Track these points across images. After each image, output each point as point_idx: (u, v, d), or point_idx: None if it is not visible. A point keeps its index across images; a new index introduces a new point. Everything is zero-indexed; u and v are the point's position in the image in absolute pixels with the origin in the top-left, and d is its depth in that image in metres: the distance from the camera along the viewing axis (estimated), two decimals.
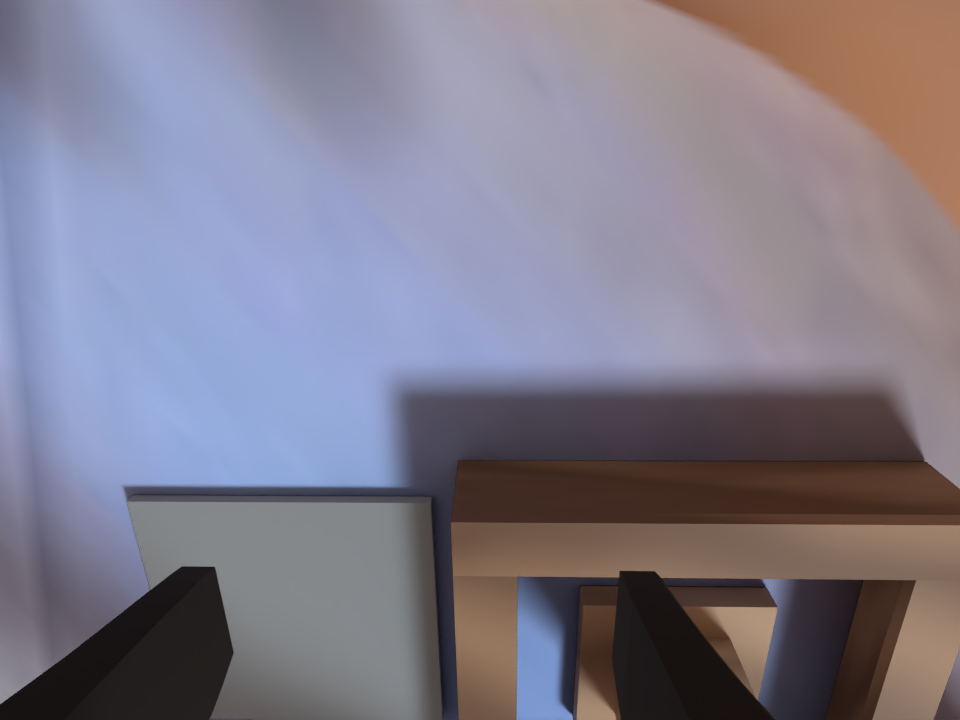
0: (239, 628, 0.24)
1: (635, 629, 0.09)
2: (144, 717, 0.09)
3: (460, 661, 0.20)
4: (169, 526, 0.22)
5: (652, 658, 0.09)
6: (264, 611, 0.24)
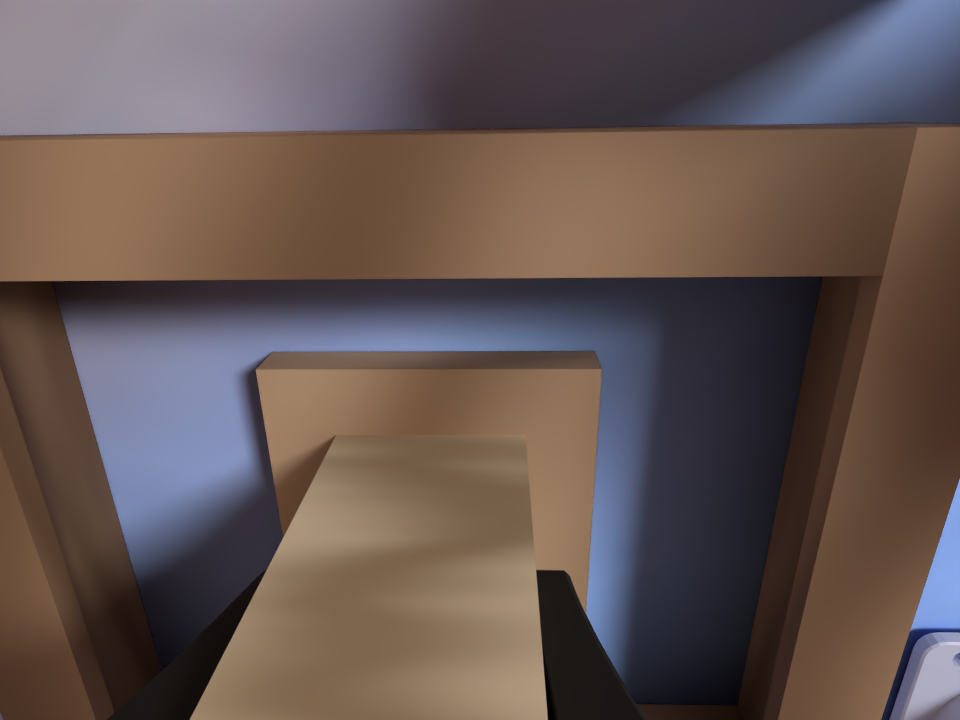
0: None
1: None
2: None
3: None
4: None
5: None
6: None
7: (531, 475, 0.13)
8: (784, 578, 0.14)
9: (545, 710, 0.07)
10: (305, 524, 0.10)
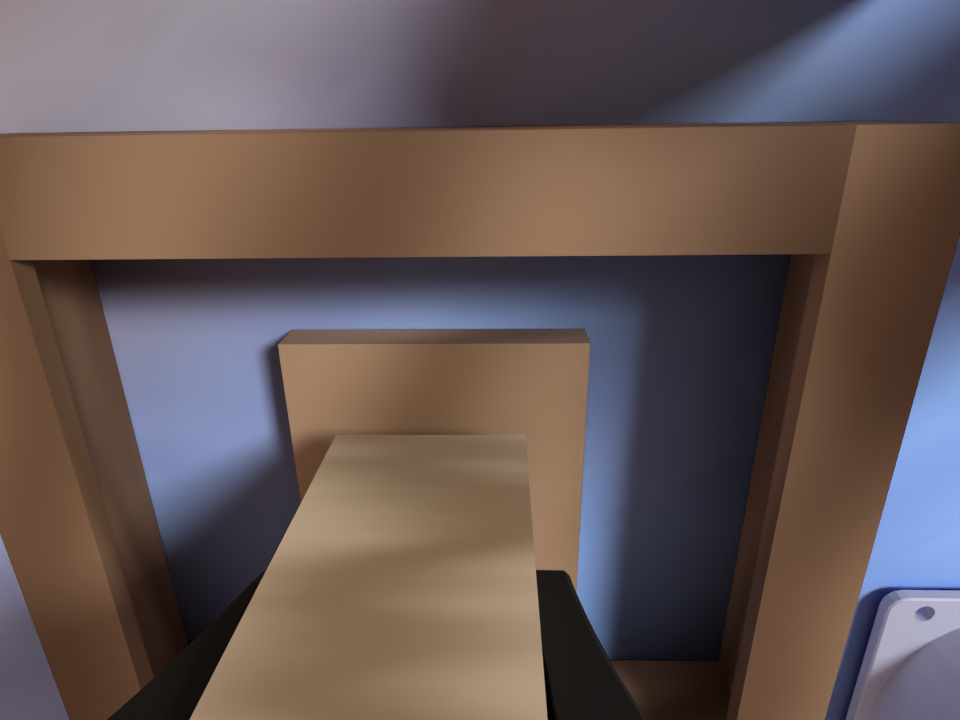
0: None
1: None
2: None
3: None
4: None
5: None
6: None
7: (527, 441, 0.14)
8: (758, 537, 0.15)
9: (544, 709, 0.07)
10: (305, 524, 0.10)
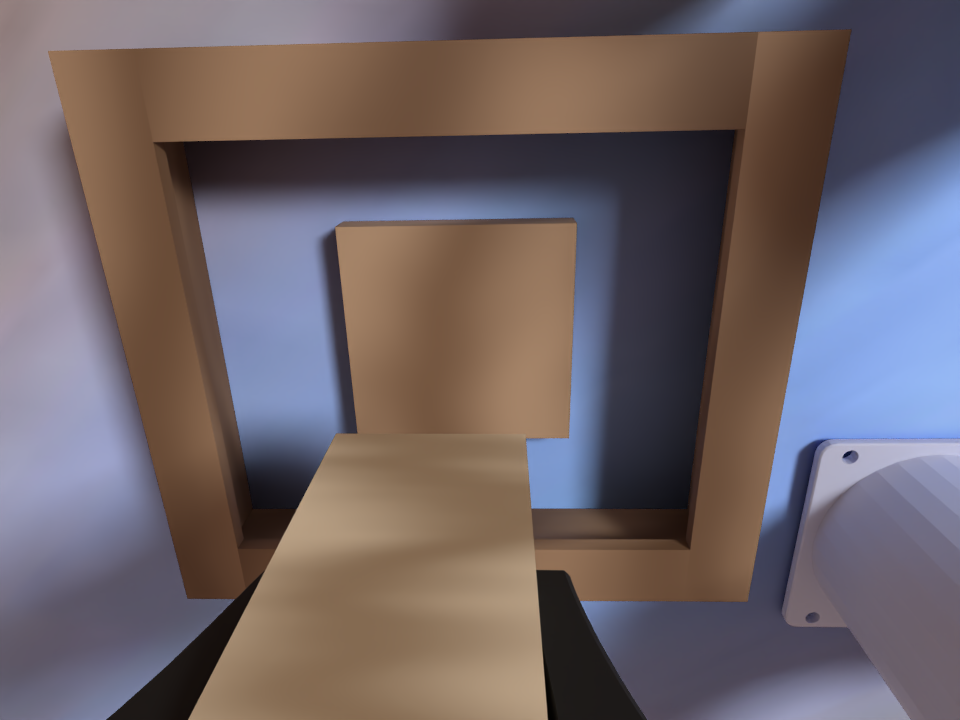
0: None
1: None
2: None
3: None
4: None
5: None
6: None
7: (528, 306, 0.18)
8: None
9: (545, 708, 0.07)
10: (305, 523, 0.10)
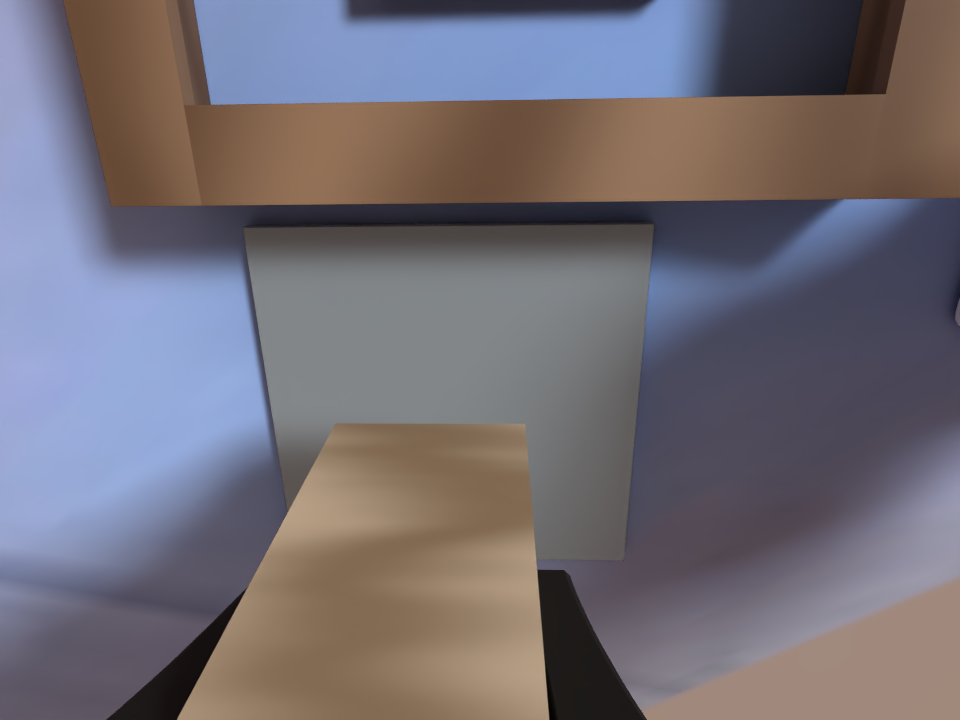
0: None
1: None
2: None
3: (364, 197, 0.13)
4: None
5: None
6: None
7: None
8: None
9: (545, 690, 0.07)
10: (304, 510, 0.10)
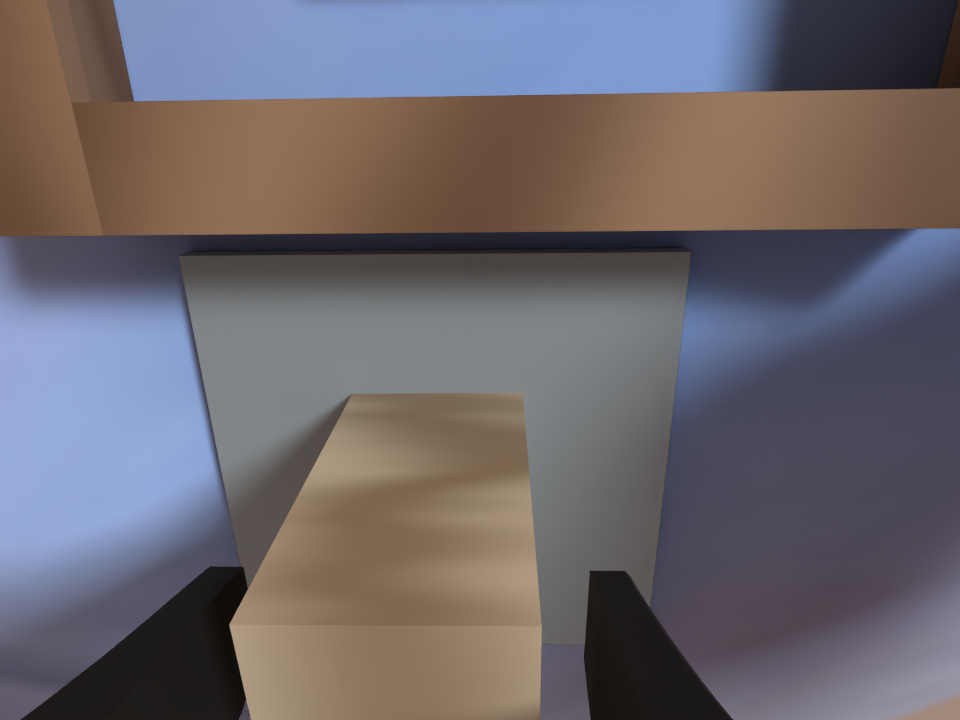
0: None
1: (601, 629, 0.09)
2: (179, 718, 0.09)
3: (318, 225, 0.10)
4: None
5: (616, 658, 0.09)
6: None
7: None
8: None
9: (537, 590, 0.08)
10: (328, 462, 0.12)
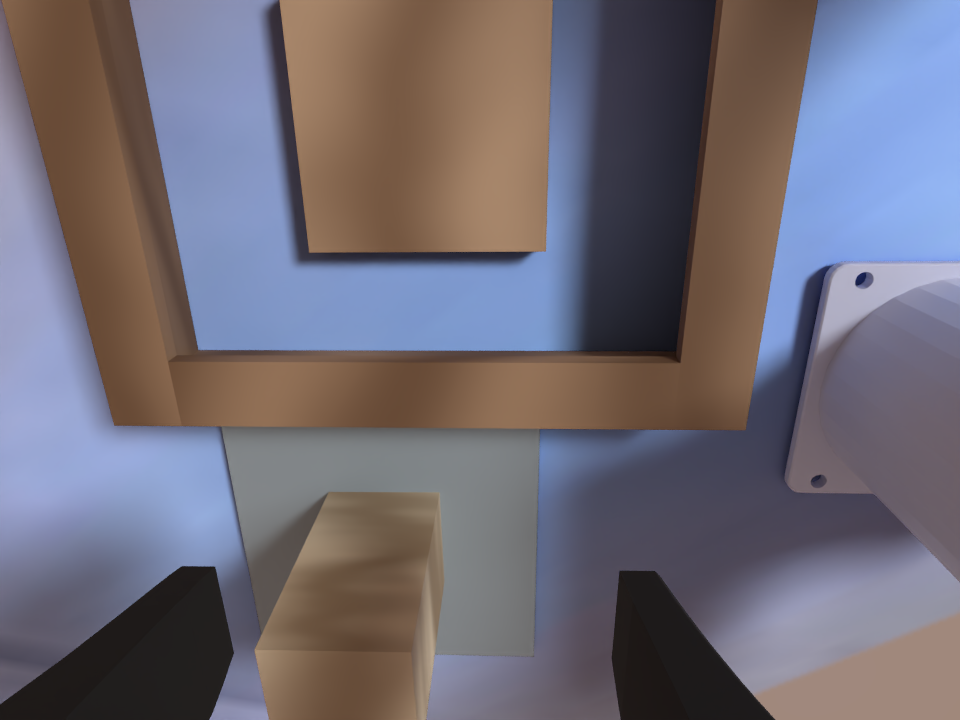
0: None
1: (635, 629, 0.09)
2: (144, 717, 0.09)
3: (303, 422, 0.17)
4: None
5: (652, 658, 0.09)
6: None
7: (499, 82, 0.16)
8: None
9: (414, 632, 0.16)
10: (310, 547, 0.19)
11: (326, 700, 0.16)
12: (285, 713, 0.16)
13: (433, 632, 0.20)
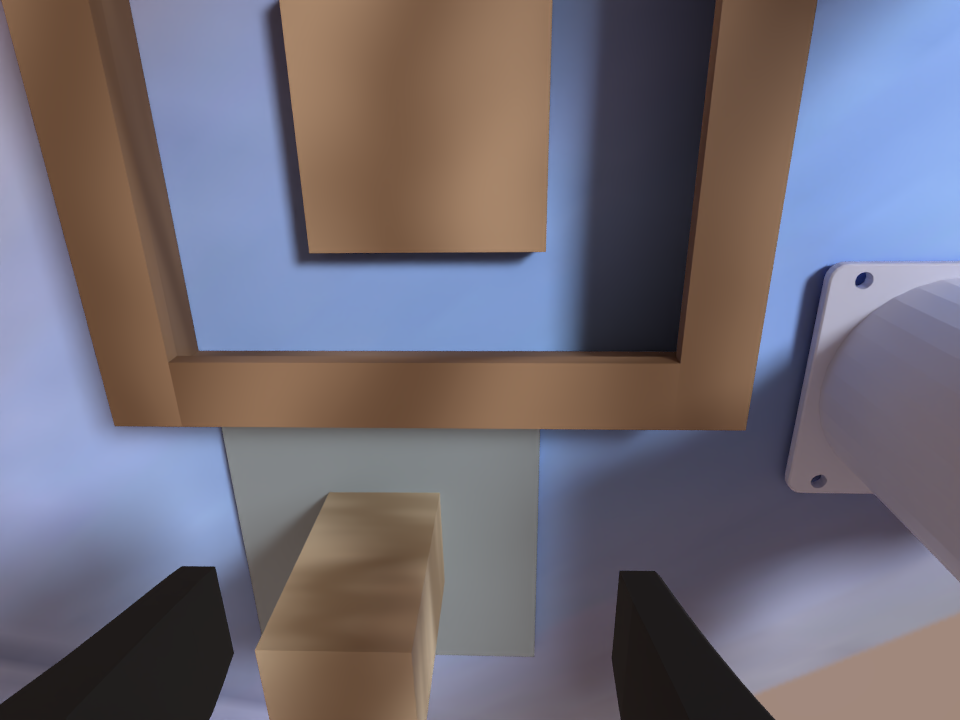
0: None
1: (635, 629, 0.09)
2: (144, 717, 0.09)
3: (303, 423, 0.17)
4: None
5: (652, 658, 0.09)
6: None
7: (498, 82, 0.16)
8: None
9: (414, 633, 0.16)
10: (310, 547, 0.19)
11: (327, 700, 0.16)
12: (285, 713, 0.16)
13: (433, 632, 0.20)
